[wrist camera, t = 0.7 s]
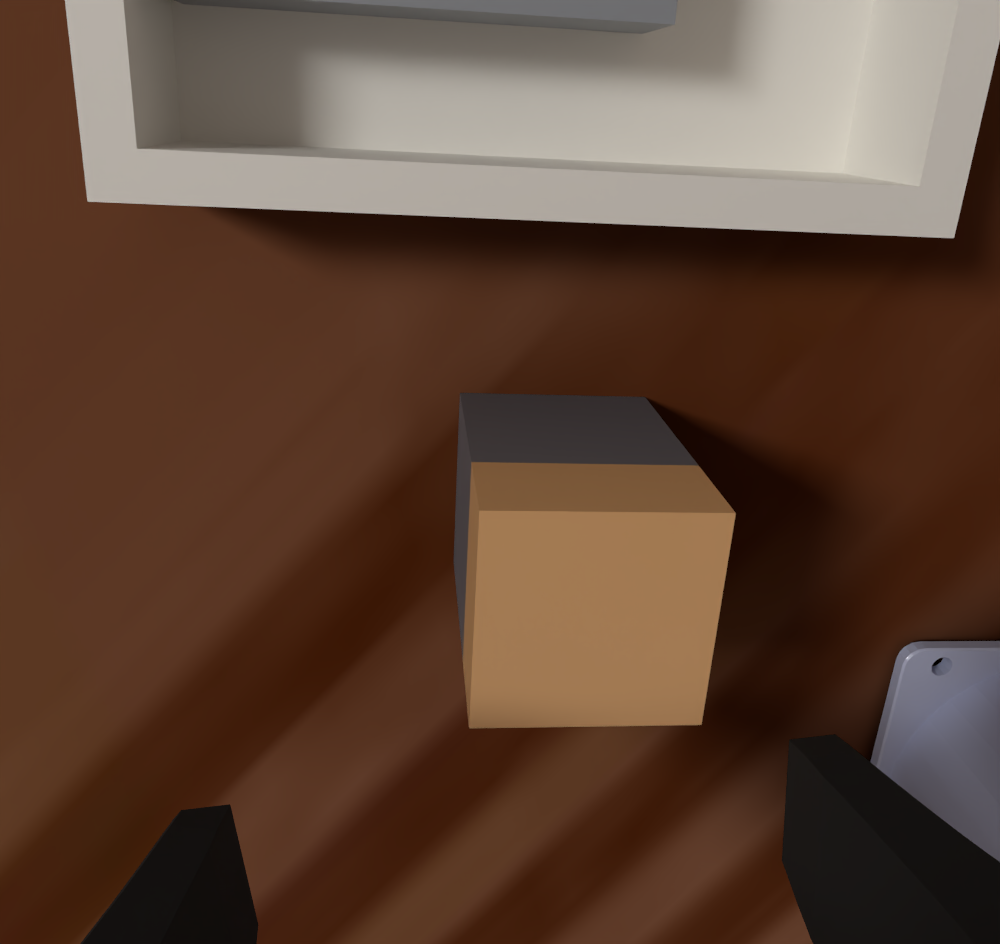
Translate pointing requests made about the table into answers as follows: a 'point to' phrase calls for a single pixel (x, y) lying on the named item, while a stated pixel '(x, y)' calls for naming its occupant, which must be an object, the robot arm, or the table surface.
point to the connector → (584, 563)
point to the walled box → (541, 108)
